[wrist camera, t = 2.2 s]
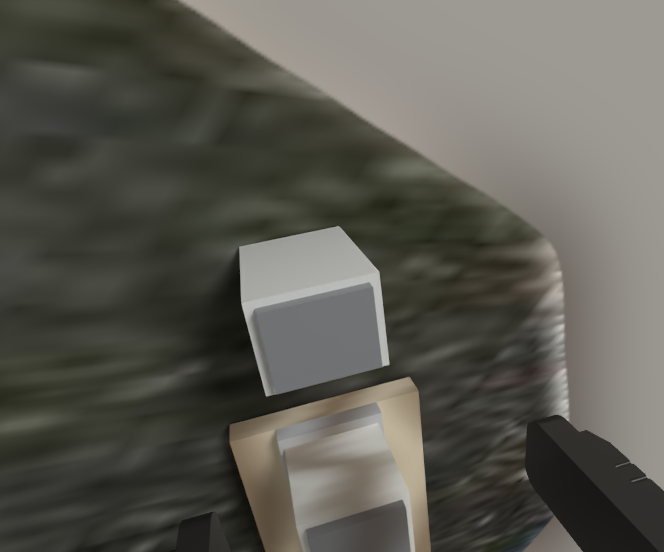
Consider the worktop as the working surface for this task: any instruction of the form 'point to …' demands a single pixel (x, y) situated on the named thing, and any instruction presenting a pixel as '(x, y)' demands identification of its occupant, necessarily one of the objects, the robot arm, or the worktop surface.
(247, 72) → the worktop surface
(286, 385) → the block
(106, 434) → the worktop surface
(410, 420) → the rail board
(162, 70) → the worktop surface
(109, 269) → the worktop surface
